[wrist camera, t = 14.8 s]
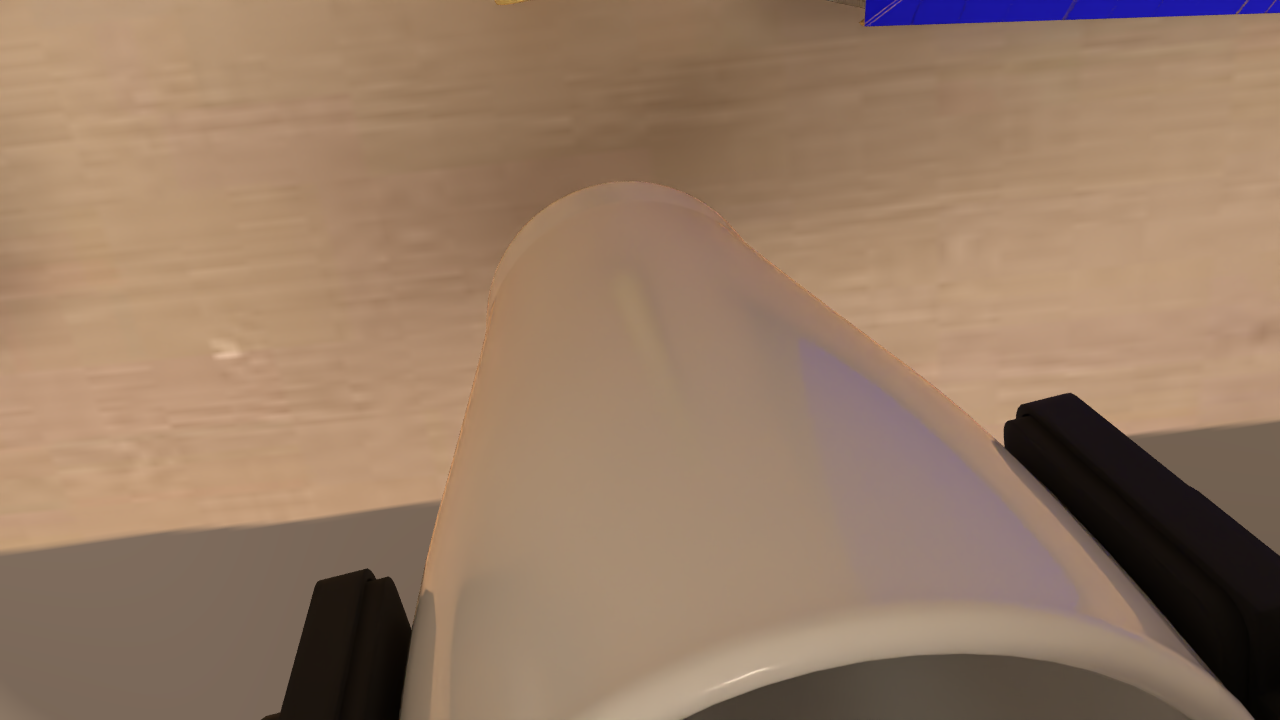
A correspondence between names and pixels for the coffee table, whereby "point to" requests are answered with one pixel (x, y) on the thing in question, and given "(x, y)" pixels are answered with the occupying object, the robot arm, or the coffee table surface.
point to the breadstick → (508, 2)
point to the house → (1043, 10)
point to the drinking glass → (749, 512)
